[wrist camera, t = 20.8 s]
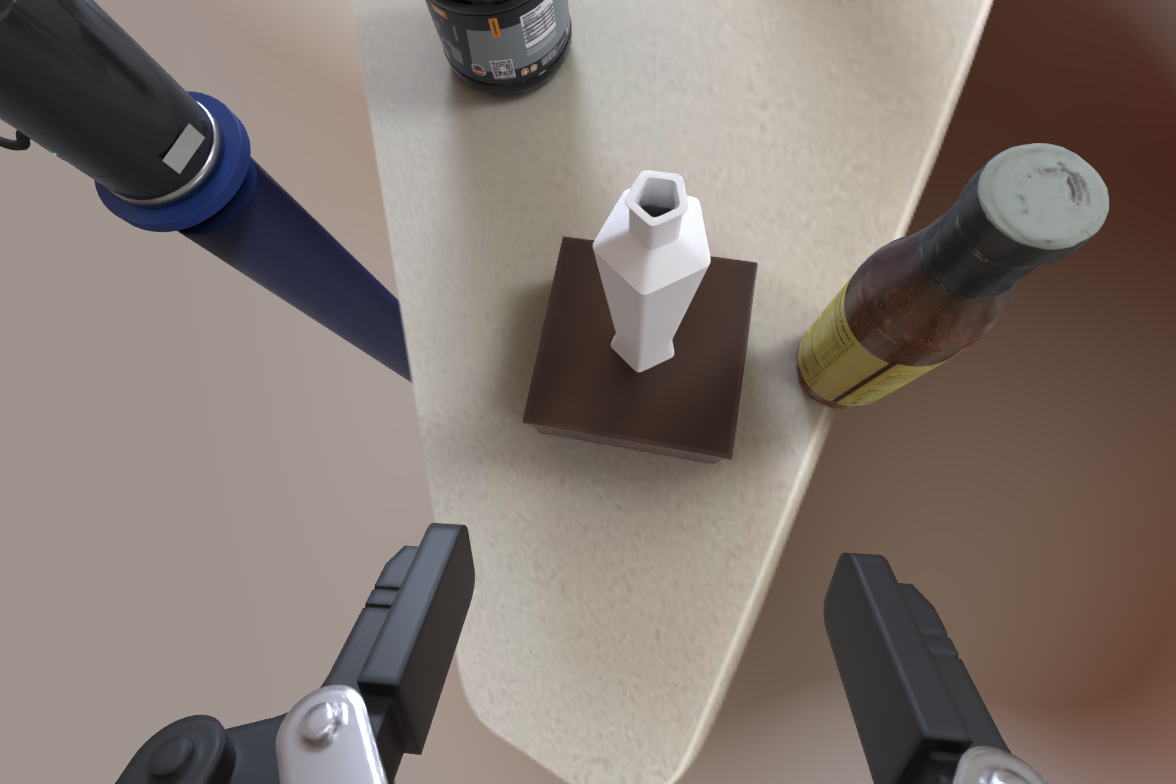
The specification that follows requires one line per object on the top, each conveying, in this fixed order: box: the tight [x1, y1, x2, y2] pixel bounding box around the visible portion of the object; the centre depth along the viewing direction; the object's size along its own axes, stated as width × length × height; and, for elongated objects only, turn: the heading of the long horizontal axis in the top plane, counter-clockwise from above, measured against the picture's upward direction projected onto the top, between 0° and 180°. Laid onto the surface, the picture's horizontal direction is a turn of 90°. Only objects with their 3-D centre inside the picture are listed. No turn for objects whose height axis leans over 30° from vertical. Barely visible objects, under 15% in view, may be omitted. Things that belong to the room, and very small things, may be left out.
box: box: [523, 236, 757, 464], centre depth 35 cm, size 12×12×5 cm
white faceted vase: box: [593, 170, 711, 372], centre depth 26 cm, size 5×4×15 cm
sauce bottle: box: [796, 143, 1109, 409], centre depth 27 cm, size 7×6×20 cm
